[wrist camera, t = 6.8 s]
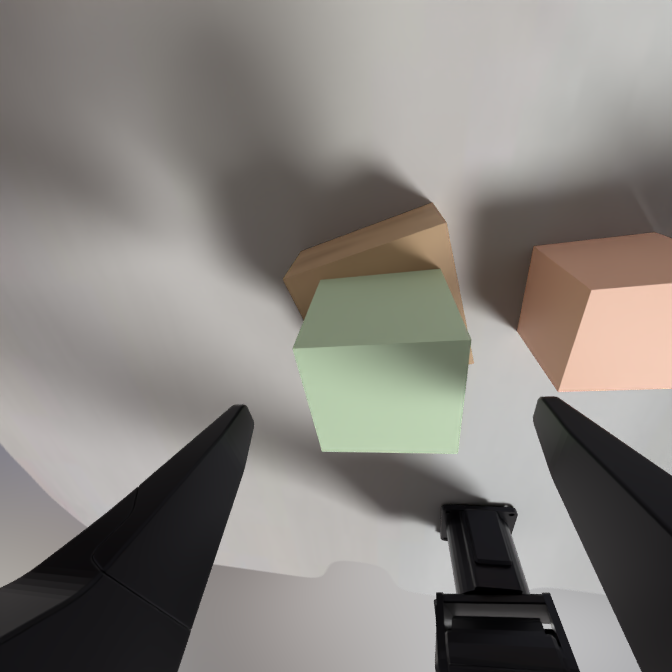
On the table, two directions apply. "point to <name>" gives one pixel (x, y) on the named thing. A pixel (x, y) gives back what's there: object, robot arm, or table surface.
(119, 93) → the table surface
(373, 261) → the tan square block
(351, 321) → the sage block
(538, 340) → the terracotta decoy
